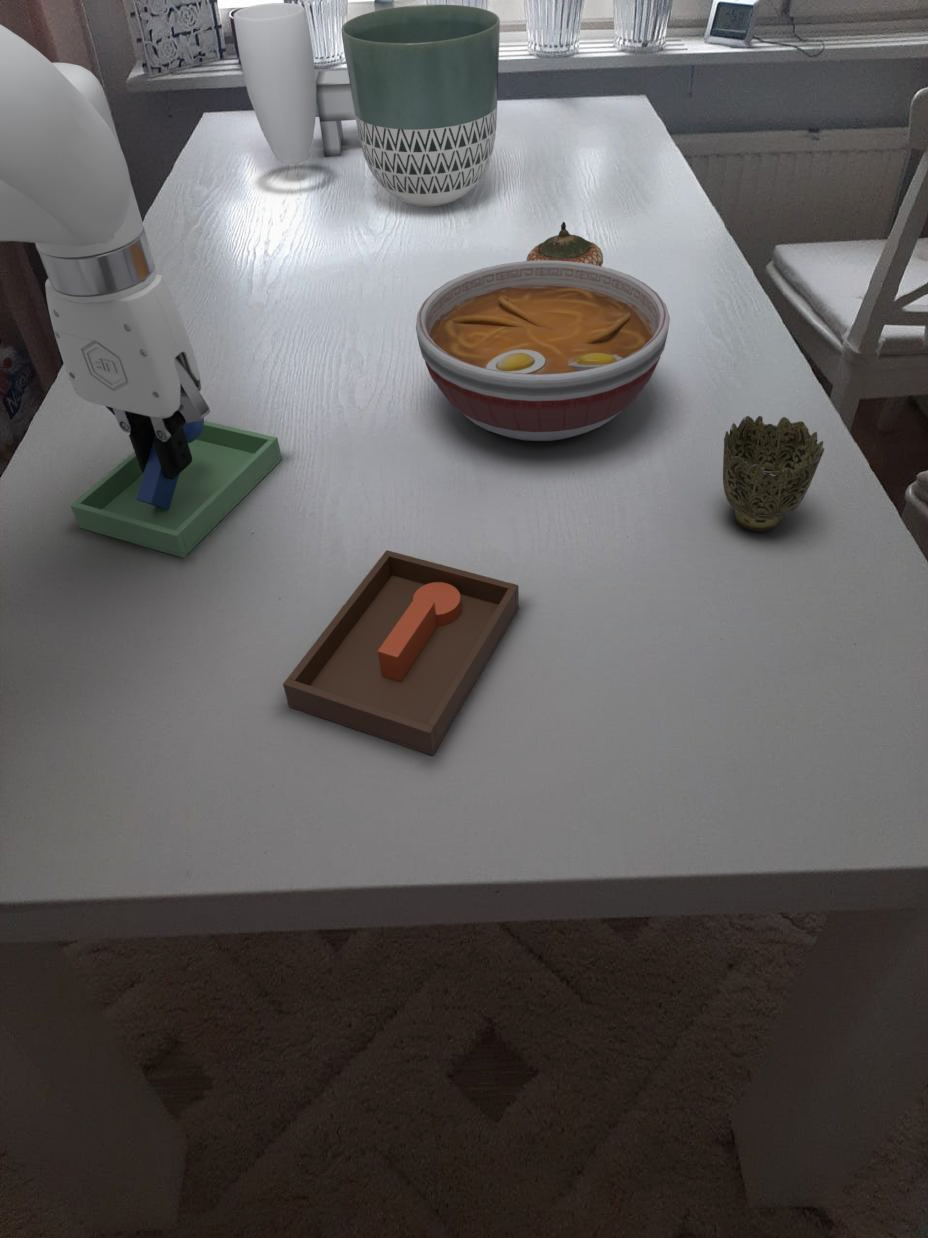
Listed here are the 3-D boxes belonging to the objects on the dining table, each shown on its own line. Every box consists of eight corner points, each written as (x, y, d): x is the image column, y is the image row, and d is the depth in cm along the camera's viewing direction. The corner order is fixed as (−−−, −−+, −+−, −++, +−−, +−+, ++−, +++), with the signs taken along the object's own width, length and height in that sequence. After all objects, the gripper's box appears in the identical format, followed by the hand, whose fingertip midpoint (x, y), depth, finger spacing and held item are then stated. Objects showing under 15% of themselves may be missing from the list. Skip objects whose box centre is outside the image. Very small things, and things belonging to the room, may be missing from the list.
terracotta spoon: (413, 686, 66) (410, 661, 64) (368, 672, 67) (364, 647, 65) (468, 600, 72) (467, 574, 70) (426, 588, 73) (424, 563, 71)
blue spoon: (178, 512, 81) (160, 506, 79) (145, 503, 82) (126, 496, 80) (209, 408, 81) (191, 398, 79) (175, 400, 83) (157, 390, 80)
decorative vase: (804, 500, 79) (825, 419, 74) (802, 556, 74) (824, 473, 69) (714, 489, 81) (728, 409, 75) (706, 543, 76) (720, 460, 70)
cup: (332, 164, 144) (310, -1, 129) (330, 189, 136) (305, 16, 121) (265, 169, 144) (234, 4, 128) (258, 194, 136) (225, 22, 121)
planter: (336, 217, 128) (312, 38, 113) (399, 168, 141) (384, 1, 126) (469, 234, 122) (462, 47, 107) (522, 181, 135) (522, 7, 120)
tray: (432, 755, 62) (430, 733, 60) (288, 706, 65) (282, 684, 64) (518, 608, 71) (518, 584, 70) (389, 572, 75) (386, 549, 73)
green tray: (183, 558, 77) (176, 535, 76) (79, 527, 81) (69, 505, 79) (282, 459, 87) (277, 437, 86) (184, 435, 91) (178, 414, 89)
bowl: (602, 504, 80) (610, 402, 73) (378, 440, 89) (366, 343, 82) (692, 378, 94) (705, 283, 87) (491, 334, 103) (489, 243, 96)
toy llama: (312, 141, 152) (291, -4, 138) (420, 135, 152) (410, -11, 138) (308, 157, 147) (286, 7, 133) (420, 150, 146) (409, 0, 132)
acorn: (611, 304, 107) (617, 214, 100) (578, 335, 102) (582, 243, 95) (548, 289, 110) (549, 202, 103) (512, 318, 105) (511, 229, 98)
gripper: (-19, 267, 68) (68, 472, 81) (153, 300, 63) (217, 513, 76) (51, 226, 73) (124, 426, 86) (217, 254, 68) (267, 462, 81)
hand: (167, 466), depth 81 cm, fingers closed on blue spoon
